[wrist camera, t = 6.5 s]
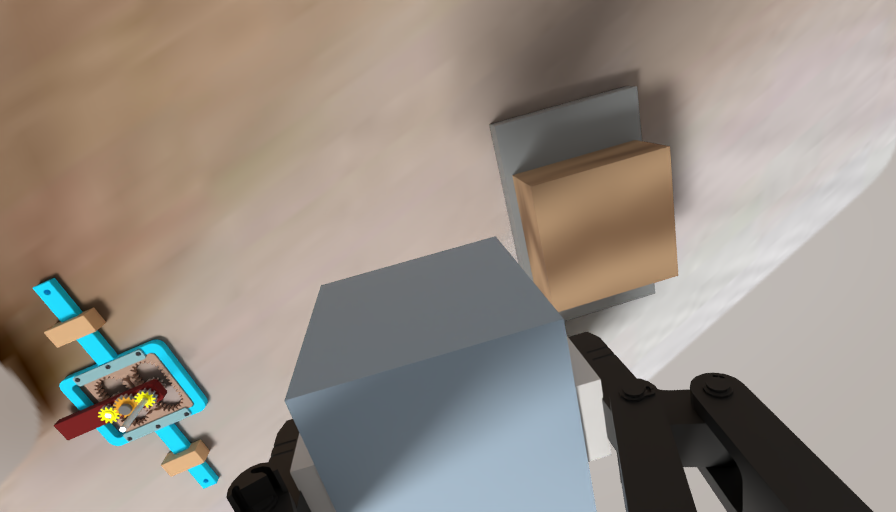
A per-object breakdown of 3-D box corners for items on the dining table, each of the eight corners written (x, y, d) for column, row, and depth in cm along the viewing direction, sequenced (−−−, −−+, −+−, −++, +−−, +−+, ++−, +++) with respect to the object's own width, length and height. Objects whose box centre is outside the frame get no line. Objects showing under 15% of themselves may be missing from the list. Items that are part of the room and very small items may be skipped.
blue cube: (321, 285, 17) (284, 400, 11) (495, 236, 18) (563, 319, 11) (375, 425, 20) (372, 588, 13) (526, 380, 20) (597, 517, 13)
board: (489, 124, 31) (494, 126, 29) (625, 86, 31) (637, 86, 30) (530, 320, 37) (536, 329, 35) (644, 285, 37) (655, 293, 36)
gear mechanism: (155, 501, 38) (257, 456, 38) (122, 563, 33) (239, 512, 33) (-23, 309, 31) (105, 255, 31) (-101, 351, 25) (52, 286, 26)
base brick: (512, 175, 31) (530, 186, 27) (634, 139, 31) (669, 146, 28) (535, 289, 34) (554, 313, 30) (645, 255, 35) (678, 275, 31)
